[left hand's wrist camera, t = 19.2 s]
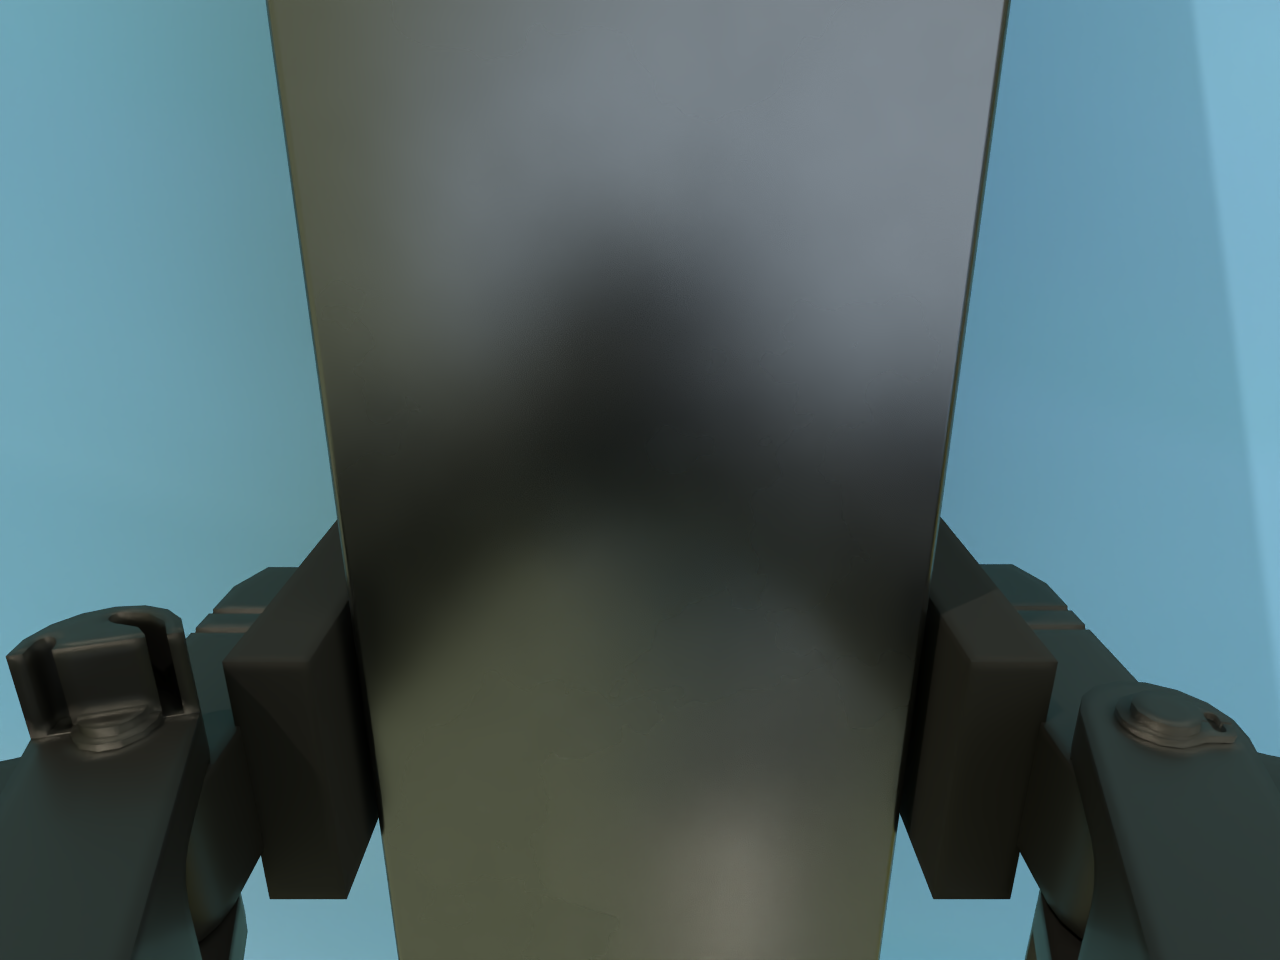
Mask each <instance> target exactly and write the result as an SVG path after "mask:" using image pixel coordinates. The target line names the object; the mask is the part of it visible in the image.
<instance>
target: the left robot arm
mask: <svg viewBox="0 0 1280 960" xmlns="http://www.w3.org/2000/svg"><path fill="white" fill-rule="evenodd" d="M6 659H7V662H8V665H9V669H10V672H11V675H12V679H13V682H14V685H15V688H16V692H17V695H18V698H19V701H20V705H21V708H22V711H23V715H24V718H25V721H26V724H27V728H28V731H29V734H30V737H31V740H30V742H29V744H28V746H27V747H26V749H25V751H24V753H23V755H22V756H21V757H19V758H15V759H10V760H5V761H0V960H244V953H245V946H246V938H247V923H246V916H245V910H244V905H243V901H242V896H241V891H242V889H243V887H244V885H245V884H246V882H247V880H248V878H249V876H250V874H251V872H252V871H253V869H254V867H255V865H256V863H257V861H258V859H259V857H260V856H261V858H262V863H263V868H264V873H265V878H266V882H267V887H268V892H269V897H270V899H347V897H348V894H349V892H350V889H351V887H352V884H353V882H354V879H355V876H356V874H357V871H358V869H359V866H360V864H361V861H362V859H363V856H364V853H365V851H366V848H367V846H368V843H369V841H370V838H371V835H372V833H373V830H374V828H375V825H376V823H377V820H378V818H379V816H378V808H377V801H376V794H375V787H374V780H373V772H372V765H371V758H370V751H369V743H368V736H367V729H366V722H365V715H364V707H363V700H362V693H361V686H360V678H359V671H358V664H357V657H356V650H355V642H354V635H353V628H352V621H351V614H350V606H349V599H348V592H347V585H346V577H345V570H344V563H343V556H342V549H341V541H340V534H339V527H338V520H337V521H336V522H335V523H334V524H333V526H332V527H331V528H330V529H329V530H328V532H327V533H326V534H325V535H324V537H323V538H322V539H321V540H320V542H319V543H318V544H317V545H316V546H315V548H314V549H313V550H312V551H311V553H310V554H309V555H308V556H307V558H306V559H305V560H304V561H303V562H302V564H301V565H300V566H299V567H268V568H266V569H264V570H263V571H261V572H259V573H257V574H255V575H254V576H252V577H250V578H248V579H247V580H245V581H243V582H241V583H240V584H238V585H236V586H234V587H233V588H232V589H231V590H230V592H229V593H228V594H227V595H226V596H225V597H224V598H223V599H222V600H221V601H220V602H219V603H218V605H217V606H216V607H215V608H214V609H213V614H208V615H207V616H206V618H205V619H204V620H203V621H202V622H201V623H200V624H199V625H198V626H197V627H196V632H195V633H191V634H190V635H189V636H188V637H187V638H185V634H184V629H183V625H182V620H181V618H180V617H178V616H177V615H175V614H174V613H172V612H171V611H170V610H168V609H163V608H157V607H151V606H146V605H144V606H122V607H112V608H107V609H102V610H98V611H93V612H88V613H83V614H80V615H77V616H74V617H71V618H69V619H66V620H63V621H60V622H57V623H55V624H52V625H49V626H48V627H46V628H44V629H42V630H40V631H39V632H37V633H35V634H33V635H31V636H29V637H28V638H26V639H24V640H23V641H22V642H21V643H19V644H18V645H17V646H16V647H15V648H14V649H13V650H12V651H11V652H10V653H9V654H8V655H7V656H6ZM900 815H901V817H902V820H903V823H904V825H905V828H906V830H907V833H908V835H909V838H910V841H911V843H912V846H913V848H914V851H915V853H916V856H917V858H918V861H919V864H920V866H921V869H922V871H923V874H924V876H925V879H926V882H927V884H928V887H929V889H930V892H931V894H932V897H933V899H1010V898H1011V893H1012V888H1013V883H1014V878H1015V873H1016V868H1017V863H1018V858H1019V853H1021V855H1022V857H1023V858H1024V860H1025V862H1026V864H1027V866H1028V868H1029V870H1030V871H1031V873H1032V875H1033V877H1034V879H1035V881H1036V883H1037V884H1038V886H1039V888H1040V892H1039V896H1038V901H1037V905H1036V910H1035V915H1034V919H1033V924H1032V928H1031V933H1030V938H1029V942H1028V947H1027V951H1026V956H1025V960H1280V757H1275V756H1270V755H1266V754H1262V753H1258V752H1257V751H1256V749H1255V748H1254V746H1253V744H1252V742H1251V740H1250V739H1249V737H1248V736H1247V735H1246V734H1245V733H1244V732H1243V730H1242V729H1241V728H1240V727H1239V726H1238V725H1237V724H1236V722H1235V721H1234V720H1233V719H1231V718H1230V717H1228V716H1227V715H1225V714H1224V713H1222V712H1221V711H1219V710H1218V709H1216V708H1215V707H1213V706H1211V705H1210V704H1208V703H1206V702H1204V701H1202V700H1199V699H1197V698H1195V697H1192V696H1190V695H1187V694H1185V693H1183V692H1180V691H1178V690H1174V689H1170V688H1166V687H1162V686H1157V685H1153V684H1149V683H1143V682H1138V681H1137V680H1136V679H1135V678H1134V677H1133V676H1132V675H1131V674H1130V673H1129V672H1128V671H1127V669H1126V668H1125V667H1124V666H1123V665H1122V664H1121V663H1120V662H1119V661H1118V660H1117V659H1116V658H1115V657H1114V655H1113V654H1112V653H1111V652H1110V651H1109V650H1108V649H1107V648H1106V647H1105V646H1104V645H1103V644H1102V643H1101V642H1100V640H1099V639H1098V638H1097V637H1096V636H1095V635H1094V634H1093V633H1092V632H1091V631H1090V630H1085V624H1084V623H1083V622H1082V621H1081V620H1080V619H1079V618H1078V617H1077V616H1076V615H1075V614H1074V613H1073V611H1068V609H1067V605H1066V604H1065V603H1064V602H1063V601H1062V600H1061V599H1060V597H1059V596H1058V595H1057V594H1056V593H1055V592H1054V591H1053V590H1052V589H1051V588H1050V587H1049V586H1048V585H1047V584H1046V583H1045V582H1043V581H1041V580H1039V579H1037V578H1036V577H1034V576H1032V575H1030V574H1029V573H1027V572H1025V571H1023V570H1021V569H1020V568H1018V567H1016V566H1014V565H1013V564H978V562H977V561H976V560H975V559H974V558H973V556H972V555H971V554H970V553H969V551H968V550H967V549H966V548H965V546H964V545H963V544H962V543H961V542H960V540H959V539H958V538H957V537H956V535H955V534H954V533H953V532H952V530H951V529H950V528H949V527H948V526H947V524H946V523H945V522H944V521H943V519H942V518H941V517H940V522H939V529H938V536H937V543H936V551H935V558H934V565H933V573H932V580H931V587H930V594H929V602H928V609H927V616H926V624H925V631H924V638H923V645H922V653H921V660H920V667H919V675H918V682H917V689H916V696H915V704H914V711H913V718H912V726H911V733H910V740H909V747H908V755H907V762H906V769H905V777H904V784H903V791H902V798H901V806H900Z"/></svg>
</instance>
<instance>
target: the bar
mask: <svg viewBox="0 0 1280 960" xmlns="http://www.w3.org/2000/svg"><path fill="white" fill-rule="evenodd" d="M1010 4H1011V0H266V7H267V15H268V22H269V29H270V36H271V43H272V51H273V58H274V65H275V72H276V79H277V87H278V94H279V101H280V108H281V116H282V123H283V130H284V137H285V144H286V152H287V159H288V166H289V173H290V180H291V188H292V195H293V202H294V209H295V217H296V224H297V231H298V238H299V245H300V253H301V260H302V267H303V274H304V282H305V289H306V296H307V303H308V310H309V318H310V325H311V332H312V339H313V346H314V354H315V361H316V368H317V375H318V383H319V390H320V397H321V404H322V411H323V419H324V426H325V433H326V440H327V448H328V455H329V462H330V469H331V476H332V484H333V491H334V498H335V505H336V512H337V520H338V527H339V534H340V541H341V549H342V556H343V563H344V570H345V577H346V585H347V592H348V599H349V606H350V614H351V621H352V628H353V635H354V642H355V650H356V657H357V664H358V671H359V678H360V686H361V693H362V700H363V707H364V715H365V722H366V729H367V736H368V743H369V751H370V758H371V765H372V772H373V780H374V787H375V794H376V801H377V808H378V816H379V823H380V830H381V837H382V844H383V852H384V859H385V866H386V873H387V881H388V888H389V895H390V902H391V909H392V917H393V924H394V931H395V938H396V945H397V953H398V960H879V959H880V951H881V944H882V937H883V930H884V922H885V915H886V908H887V900H888V893H889V886H890V879H891V871H892V864H893V857H894V849H895V842H896V835H897V828H898V820H899V813H900V806H901V798H902V791H903V784H904V777H905V769H906V762H907V755H908V747H909V740H910V733H911V726H912V718H913V711H914V704H915V696H916V689H917V682H918V675H919V667H920V660H921V653H922V645H923V638H924V631H925V624H926V616H927V609H928V602H929V594H930V587H931V580H932V573H933V565H934V558H935V551H936V543H937V536H938V529H939V522H940V514H941V507H942V500H943V492H944V485H945V478H946V471H947V463H948V456H949V449H950V441H951V434H952V427H953V420H954V412H955V405H956V398H957V390H958V383H959V376H960V369H961V361H962V354H963V347H964V339H965V332H966V325H967V318H968V310H969V303H970V296H971V288H972V281H973V274H974V267H975V259H976V252H977V245H978V237H979V230H980V223H981V215H982V208H983V201H984V194H985V186H986V179H987V172H988V164H989V157H990V150H991V143H992V135H993V128H994V121H995V113H996V106H997V99H998V92H999V84H1000V77H1001V70H1002V62H1003V55H1004V48H1005V41H1006V33H1007V26H1008V19H1009V11H1010Z"/></svg>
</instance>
